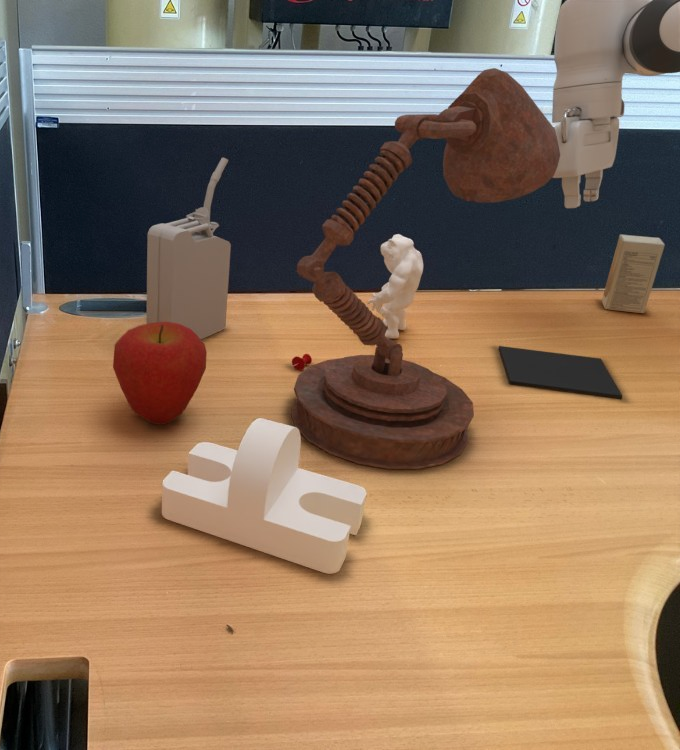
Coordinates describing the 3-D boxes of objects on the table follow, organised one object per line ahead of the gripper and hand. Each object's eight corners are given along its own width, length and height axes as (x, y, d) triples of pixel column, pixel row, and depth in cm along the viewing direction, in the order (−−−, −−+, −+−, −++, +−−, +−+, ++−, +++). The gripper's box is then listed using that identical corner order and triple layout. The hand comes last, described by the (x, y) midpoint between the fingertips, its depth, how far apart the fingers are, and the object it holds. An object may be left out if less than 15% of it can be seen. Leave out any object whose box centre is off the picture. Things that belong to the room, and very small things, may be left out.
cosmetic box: (639, 306, 132) (662, 237, 126) (644, 314, 128) (667, 244, 122) (598, 300, 133) (619, 232, 128) (602, 309, 130) (623, 239, 124)
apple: (134, 389, 98) (135, 301, 92) (214, 405, 95) (219, 315, 89) (98, 430, 88) (96, 335, 83) (185, 449, 85) (189, 351, 80)
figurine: (400, 349, 112) (418, 251, 105) (357, 339, 115) (371, 243, 108) (418, 326, 120) (436, 233, 113) (377, 317, 123) (392, 226, 116)
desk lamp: (546, 429, 92) (649, 77, 74) (342, 499, 78) (408, 82, 60) (420, 361, 108) (479, 59, 90) (231, 408, 94) (257, 60, 76)
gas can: (211, 315, 121) (219, 155, 110) (235, 324, 118) (247, 160, 107) (144, 342, 111) (146, 169, 100) (169, 353, 108) (175, 175, 97)
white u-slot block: (336, 576, 67) (351, 481, 63) (157, 516, 74) (159, 426, 70) (363, 518, 75) (379, 429, 70) (199, 468, 82) (203, 384, 77)
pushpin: (296, 376, 103) (298, 363, 102) (283, 371, 104) (285, 358, 103) (312, 367, 106) (314, 354, 105) (300, 362, 107) (301, 349, 106)
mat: (599, 361, 110) (600, 358, 110) (621, 398, 100) (622, 395, 100) (498, 348, 113) (499, 345, 113) (509, 383, 103) (510, 380, 103)
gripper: (589, 105, 101) (584, 211, 105) (627, 103, 115) (622, 196, 119) (539, 111, 105) (536, 212, 109) (582, 108, 119) (578, 198, 123)
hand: (581, 204), depth 114 cm, fingers open, 8 cm apart
